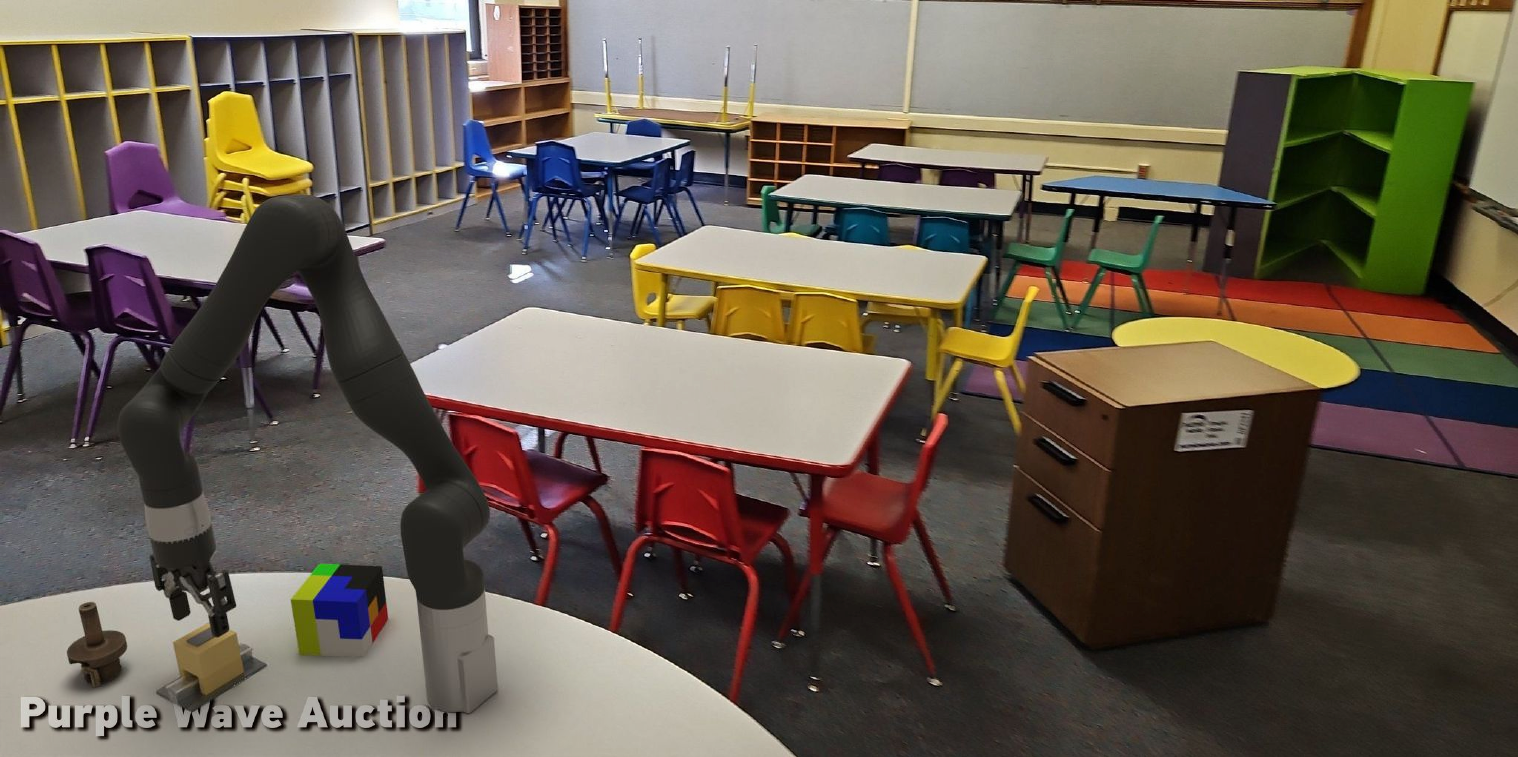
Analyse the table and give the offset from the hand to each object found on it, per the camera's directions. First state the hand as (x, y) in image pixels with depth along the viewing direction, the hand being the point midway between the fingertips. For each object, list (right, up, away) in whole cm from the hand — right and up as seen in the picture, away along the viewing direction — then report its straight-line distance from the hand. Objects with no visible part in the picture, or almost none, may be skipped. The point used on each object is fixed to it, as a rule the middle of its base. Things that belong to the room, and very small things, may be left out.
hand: (201, 625), depth 143 cm
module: (0, -9, +4) cm, 9 cm away
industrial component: (-17, -8, +5) cm, 19 cm away
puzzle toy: (+14, -6, +15) cm, 21 cm away
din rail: (-1, -9, +4) cm, 10 cm away
